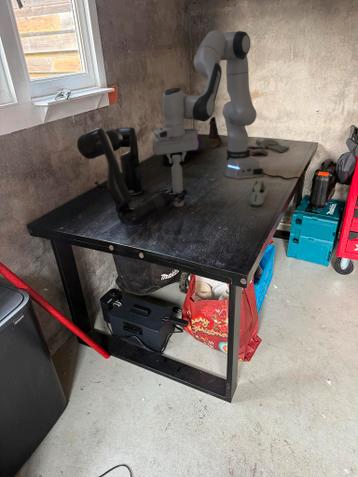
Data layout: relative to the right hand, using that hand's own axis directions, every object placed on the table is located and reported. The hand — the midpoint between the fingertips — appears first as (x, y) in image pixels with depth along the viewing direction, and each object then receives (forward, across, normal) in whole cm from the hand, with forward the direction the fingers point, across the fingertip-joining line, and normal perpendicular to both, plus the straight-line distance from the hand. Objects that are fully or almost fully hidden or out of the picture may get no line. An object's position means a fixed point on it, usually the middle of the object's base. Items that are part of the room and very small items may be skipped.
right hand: (176, 162), depth 147 cm
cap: (-2, 0, 0) cm, 2 cm away
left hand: (+14, -2, -2) cm, 15 cm away
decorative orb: (+21, -34, -81) cm, 91 cm away
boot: (+21, -59, -94) cm, 113 cm away
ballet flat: (+21, -38, +8) cm, 44 cm away
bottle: (+21, 0, 0) cm, 21 cm away
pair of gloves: (+21, -81, -64) cm, 105 cm away
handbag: (+21, -19, -66) cm, 71 cm away
